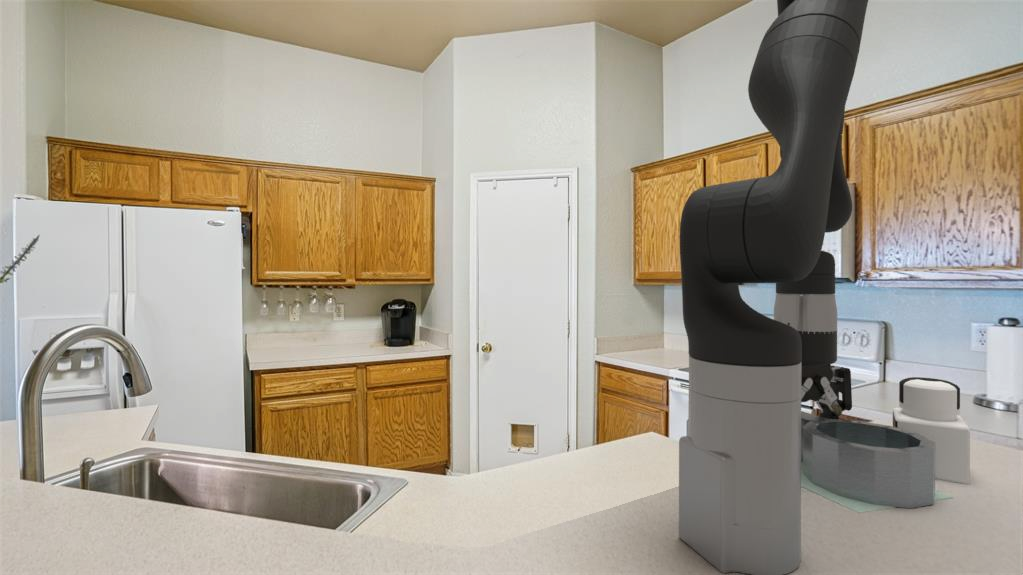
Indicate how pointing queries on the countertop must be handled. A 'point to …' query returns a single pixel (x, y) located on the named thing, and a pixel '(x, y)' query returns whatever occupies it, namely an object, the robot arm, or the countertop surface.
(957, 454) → the medicine bottle
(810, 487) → the mat
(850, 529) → the countertop surface
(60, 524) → the countertop surface
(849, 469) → the ring
